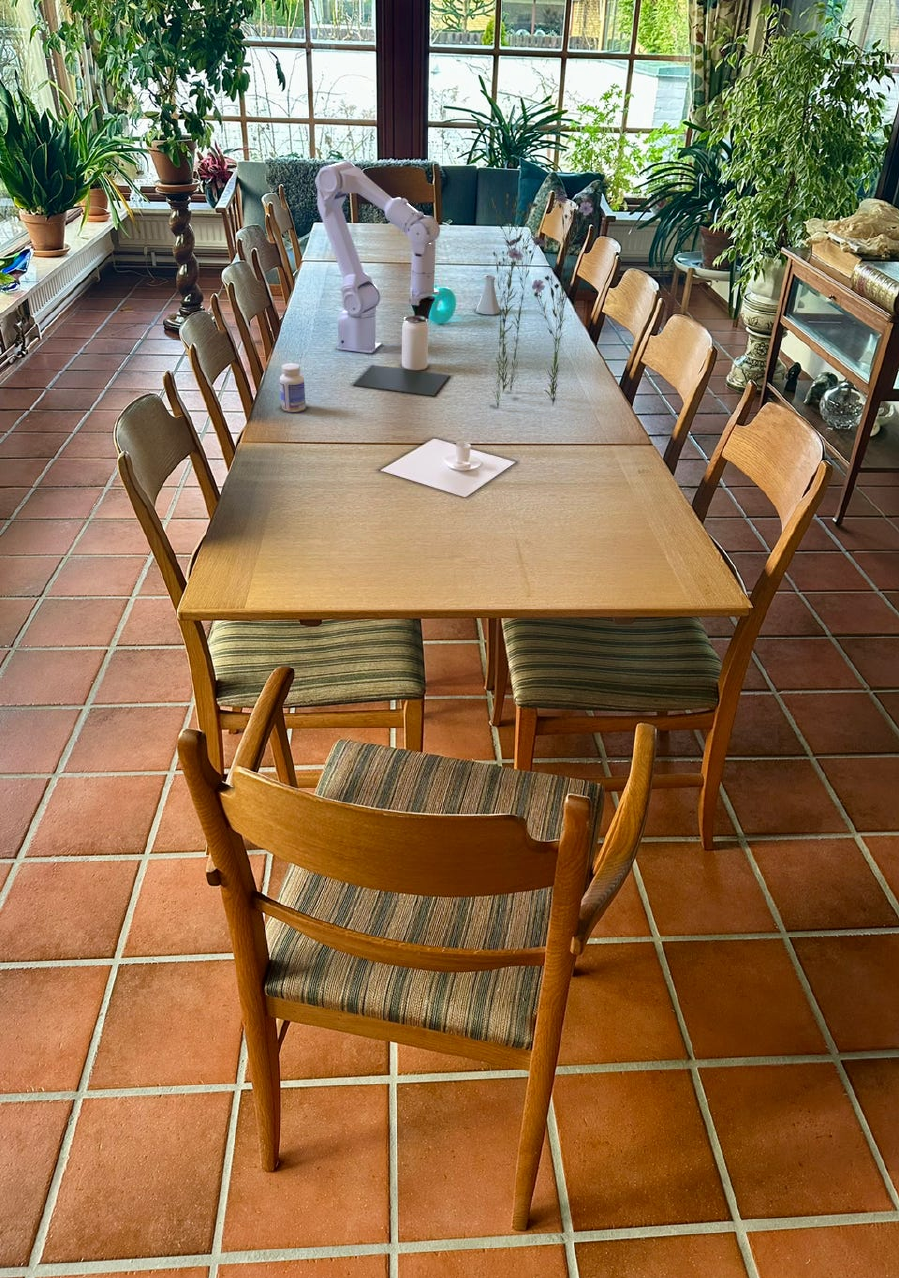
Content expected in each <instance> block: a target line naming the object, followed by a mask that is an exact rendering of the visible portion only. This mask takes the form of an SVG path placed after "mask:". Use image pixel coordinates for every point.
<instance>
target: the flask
mask: <svg viewBox="0 0 899 1278" xmlns="http://www.w3.org/2000/svg"><path fill="white" fill-rule="evenodd" d="M484 280H485V283H484V287H483V291H482V294H481V296H480V299H479V301H478V304H477V306H476V310H475V312H476V313H479V314H481V315H497V314H500V312H499V310H500V308H499V307H500V304H499V301H498V296H497V293H496V288H495V280H496V276H495V275H492V274H490V275H489V274H486V275H484Z"/></svg>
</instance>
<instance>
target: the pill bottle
mask: <svg viewBox="0 0 899 1278" xmlns="http://www.w3.org/2000/svg"><path fill="white" fill-rule="evenodd" d="M281 373H282V374H281V375H280V376H279V390H280V391H279V392H280V406H281V409H282V410H283V411H285V412H287V413H298V412H302V411H304V410H305V409H306V390H305V389H306V387H305V377H304V375H302V373H301V366H300V365H299V364H298V363H292V362H291V363H284V364H282V366H281Z"/></svg>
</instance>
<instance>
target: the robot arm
mask: <svg viewBox="0 0 899 1278" xmlns="http://www.w3.org/2000/svg"><path fill="white" fill-rule="evenodd" d="M314 184H315V186H316V189H317V197H316V198H317V203H316V204H317V210H318V213H319V215H320V218H321V221H322V223H323V227H324V229H325V231H326V235H327V237H328V240H329V243H330V246H331V248H332V251H333V254H334V257H335V259H336V263H337V266H338V268H339V271H340V273H341V276H342V282H341V285H340V289H339V290H340V292H341V303H342V304H341V305H342V308H343V311H341V312H340V313H339V315H338V319H337V347H336V349H337V350H342V351H347V352H355V353H356V352H357V353H364V354H373V353H374V352H375V351H376V350H377V349H378V348H379V347H380V346H381V342H378V341H376V340H377V338H376V336H377V334H376V331H377V330H376V329H377V328H376V324H377V323H376V321H377V320H376V317H377V315H376V314H377V307H378V306H379V303H380V302H381V292H380V290H379V287H377V285H376V284H374V283H375V282H373V279H372V277H371V275H369V273H366V271H364V268H363V266H362V263H361V260H360V257H359V254H358V251H357V248H356V245H355V243H354V239H353V237H352V234H351V231H350V228H349V226H348V223H347V220H346V216H345V213H344V210H343V208H342V207H343V205H344V202H345V200H346V198H347V196H348V195H349V194H358V195H360V196H361V197H362V198H364V199H365V200H367V201H369V202H370V203H372V204H373V205H374V206H376V207H378V208H379V209H381V210H382V211H383V212H384V215H385V219H386V220H387V221H388V222H390V223H391V224H392V225H394V226H395V227H396V228H397V229H399V230H400V231H401V232H403V233H404V234H406V235H407V239H408V241H409V242H410V244H411V263H410V264H411V265H410V266H411V270H410V289H409V291H410V292H409V293H410V298H409V299H408V300H409V304H410V307H411V306H412V308H413V310H412V312H413V311H414V312H413V316H423V317H425V318H427V323H429V319H430V318H429V313H430V310H431V307H432V304H433V302H434V300H435V297H434V296H431V295H437V294H438V293H439V290H435V289H434V284H435V276H436V274H435V273H436V240H437V239H438V238H439V237H440V233H441V228H440V224H439V222H438V221H437V220H436V219H435V218H434V216H433V215H424V212H422V211H418V210H417V209H416V208H414V207H413V206H411V205H410V204H409V200H408V199H406V198H405V197H403V198H401V197H395V198H392V196H390V195H389V194H388V193H386V192H385V190H383V189H382V188H381V187H380V186H379V185H377V183H375V182H374V181H373V180H371V178H369V177H368V176H367V175H366V174H365V173H364V172H363V171H362V169H361V168H360V167H358V166H355V164H353V163H352V162H351V161H349V160H343V161H341V162H338V163H334V164H331V165H324V166H322V167H321V168H320V169H319V170H318V173H317V176H316V177H315V180H314ZM412 308H411V309H412Z"/></svg>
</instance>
